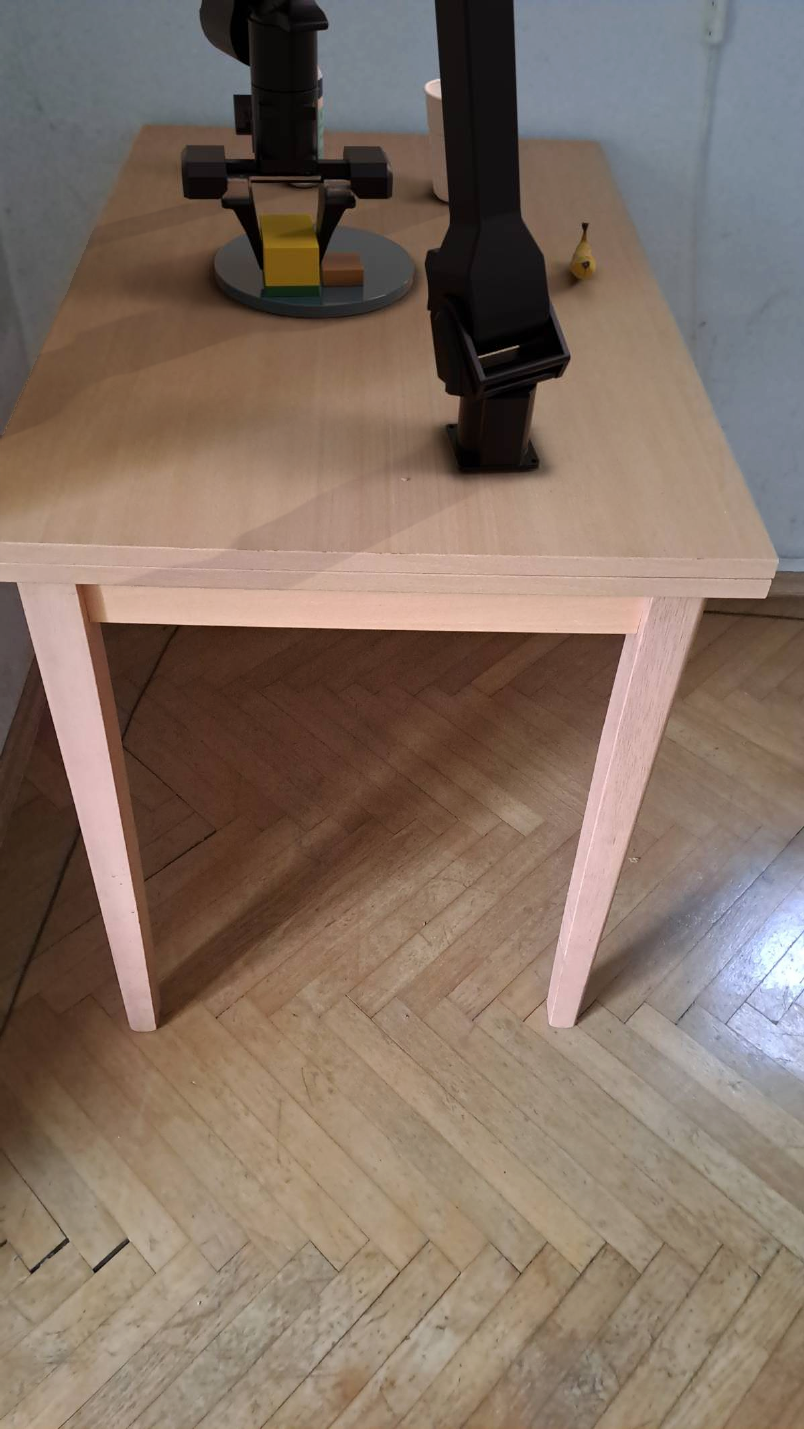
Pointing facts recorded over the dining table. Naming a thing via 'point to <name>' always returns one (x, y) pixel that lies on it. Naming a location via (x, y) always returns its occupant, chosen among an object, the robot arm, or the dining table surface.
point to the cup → (436, 138)
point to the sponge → (289, 255)
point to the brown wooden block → (342, 270)
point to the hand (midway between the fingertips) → (289, 267)
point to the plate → (382, 277)
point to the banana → (583, 258)
